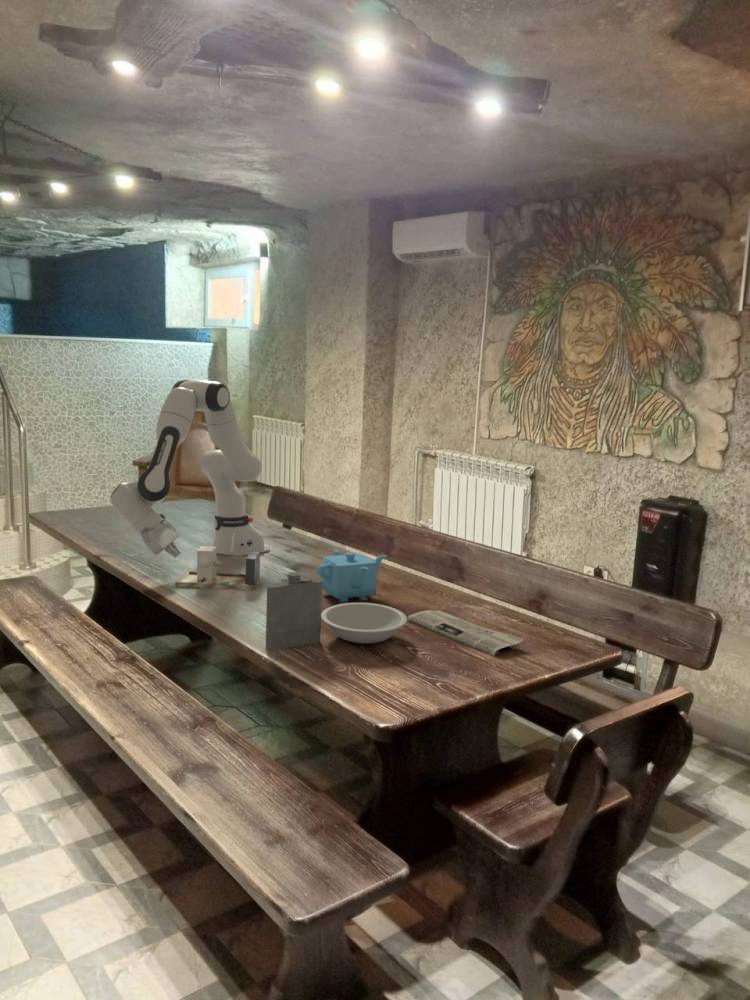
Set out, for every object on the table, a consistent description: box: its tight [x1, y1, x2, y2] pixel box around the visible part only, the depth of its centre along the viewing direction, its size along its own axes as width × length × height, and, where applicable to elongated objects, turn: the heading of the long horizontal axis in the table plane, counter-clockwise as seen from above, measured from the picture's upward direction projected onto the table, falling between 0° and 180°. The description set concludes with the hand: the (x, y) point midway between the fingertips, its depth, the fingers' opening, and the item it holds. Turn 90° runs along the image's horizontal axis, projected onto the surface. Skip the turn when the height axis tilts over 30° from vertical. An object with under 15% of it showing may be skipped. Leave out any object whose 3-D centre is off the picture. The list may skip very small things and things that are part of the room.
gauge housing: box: [196, 545, 222, 582], centre depth 260 cm, size 7×9×10 cm
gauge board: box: [174, 571, 261, 592], centre depth 262 cm, size 26×12×2 cm, turn 89°
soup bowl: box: [321, 602, 408, 644], centre depth 218 cm, size 24×24×7 cm
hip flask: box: [265, 571, 323, 652], centre depth 210 cm, size 16×4×20 cm, turn 121°
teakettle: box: [316, 548, 388, 604], centre depth 253 cm, size 19×19×15 cm
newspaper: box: [407, 609, 525, 657], centre depth 226 cm, size 35×12×4 cm, turn 42°
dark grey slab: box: [245, 551, 261, 585], centre depth 261 cm, size 3×10×9 cm, turn 179°
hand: (178, 555), depth 261 cm, fingers closed
